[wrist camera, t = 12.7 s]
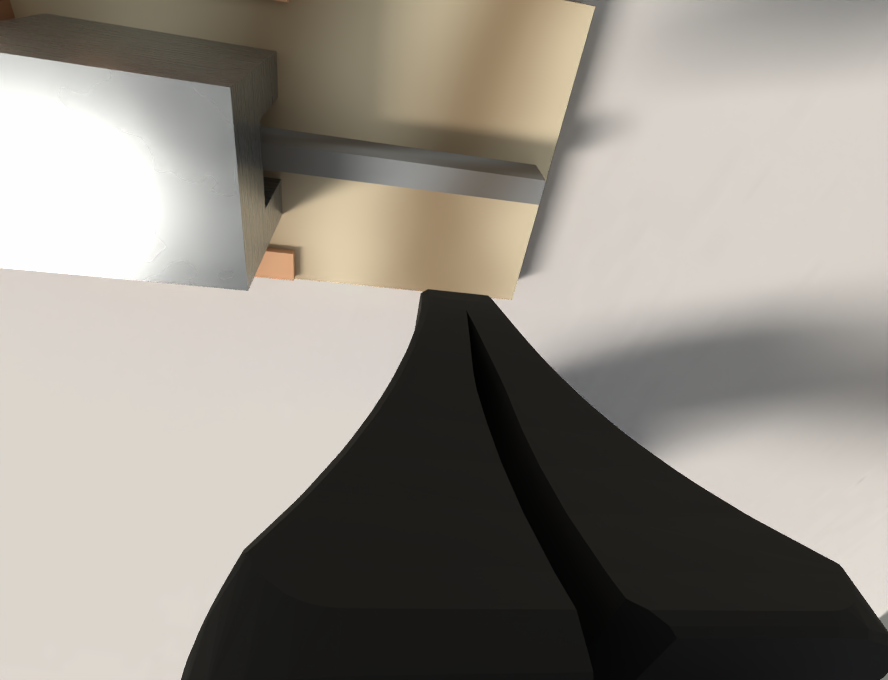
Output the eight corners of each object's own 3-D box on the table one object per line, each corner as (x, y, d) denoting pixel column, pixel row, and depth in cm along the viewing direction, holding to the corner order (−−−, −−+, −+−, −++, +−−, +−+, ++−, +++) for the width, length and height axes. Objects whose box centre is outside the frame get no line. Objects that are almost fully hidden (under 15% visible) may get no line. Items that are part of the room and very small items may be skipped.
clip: (276, 50, 14) (230, 87, 10) (282, 214, 17) (247, 290, 13) (45, 13, 14) (-101, 37, 10) (93, 192, 16) (-3, 267, 13)
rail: (583, 3, 15) (626, 14, 12) (506, 284, 21) (524, 337, 18) (-96, -129, 13) (-248, -155, 10) (34, 236, 18) (-34, 288, 16)
